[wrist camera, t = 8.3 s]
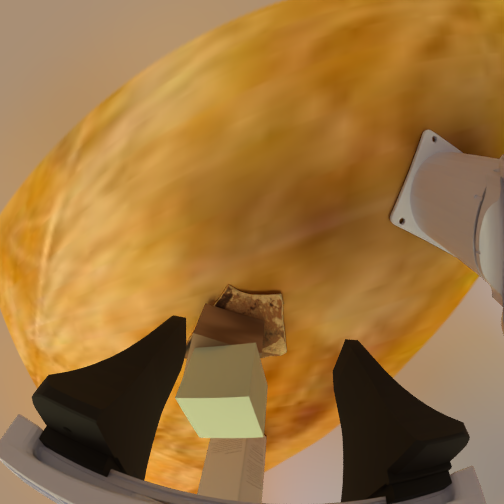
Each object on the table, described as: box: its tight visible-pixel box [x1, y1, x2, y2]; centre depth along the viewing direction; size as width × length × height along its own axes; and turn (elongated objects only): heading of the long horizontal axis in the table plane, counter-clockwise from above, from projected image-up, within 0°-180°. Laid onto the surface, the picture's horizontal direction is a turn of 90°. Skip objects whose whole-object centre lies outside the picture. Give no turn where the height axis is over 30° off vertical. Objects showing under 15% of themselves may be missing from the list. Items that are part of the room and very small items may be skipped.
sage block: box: [175, 343, 267, 438], centre depth 18 cm, size 4×4×5 cm
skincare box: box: [197, 435, 266, 503], centre depth 25 cm, size 6×4×12 cm
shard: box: [185, 284, 287, 359], centre depth 24 cm, size 11×8×2 cm
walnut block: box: [183, 304, 265, 377], centre depth 22 cm, size 5×5×4 cm
